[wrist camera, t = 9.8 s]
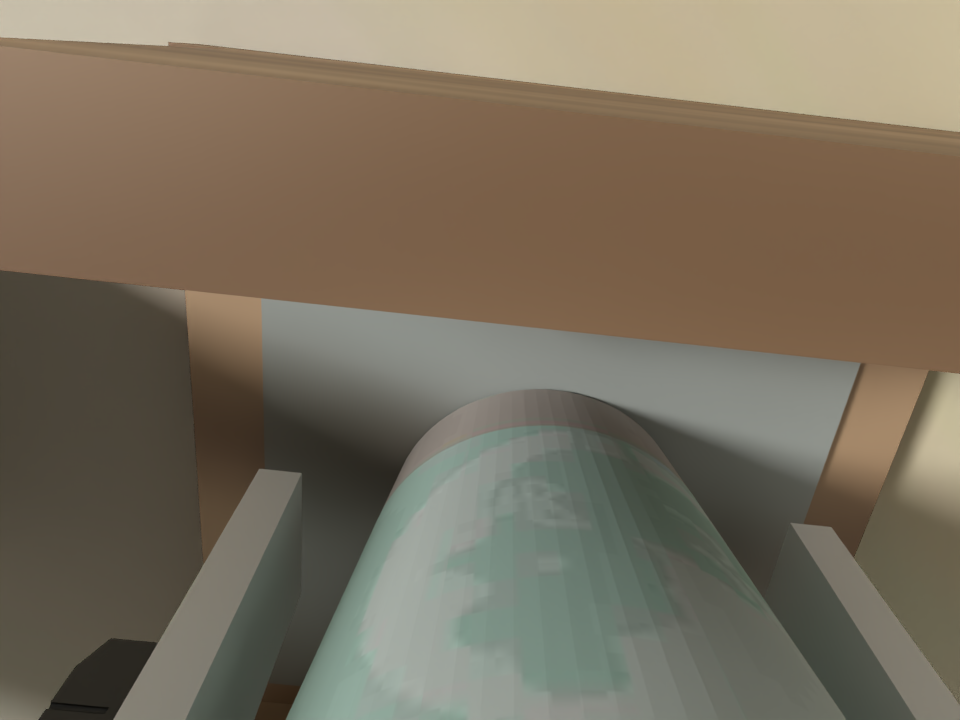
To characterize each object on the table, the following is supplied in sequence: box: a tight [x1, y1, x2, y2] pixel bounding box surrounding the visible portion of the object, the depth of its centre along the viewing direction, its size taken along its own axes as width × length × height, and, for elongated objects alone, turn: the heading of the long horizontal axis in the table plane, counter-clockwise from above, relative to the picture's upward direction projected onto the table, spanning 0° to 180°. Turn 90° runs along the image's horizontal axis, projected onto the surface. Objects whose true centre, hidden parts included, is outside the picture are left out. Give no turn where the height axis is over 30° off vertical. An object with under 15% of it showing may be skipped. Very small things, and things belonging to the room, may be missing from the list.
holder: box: [0, 38, 960, 720], centre depth 12 cm, size 16×14×8 cm
